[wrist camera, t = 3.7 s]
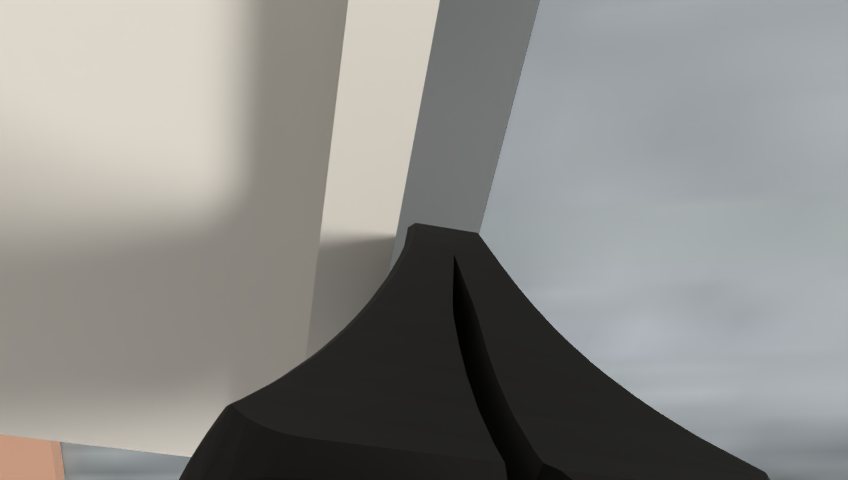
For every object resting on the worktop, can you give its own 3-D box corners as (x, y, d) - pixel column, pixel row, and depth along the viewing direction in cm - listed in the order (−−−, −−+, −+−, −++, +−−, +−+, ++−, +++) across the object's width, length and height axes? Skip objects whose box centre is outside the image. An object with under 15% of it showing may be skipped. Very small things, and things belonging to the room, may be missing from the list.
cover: (348, 459, 17) (338, 541, 15) (-207, 391, 15) (-299, 472, 13) (460, -162, 10) (471, -165, 8) (-520, -374, 9) (-801, -440, 7)
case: (453, 318, 22) (462, 461, 17) (51, 260, 21) (-70, 396, 16) (566, -123, 16) (639, -108, 10) (-13, -247, 14) (-256, -299, 9)
